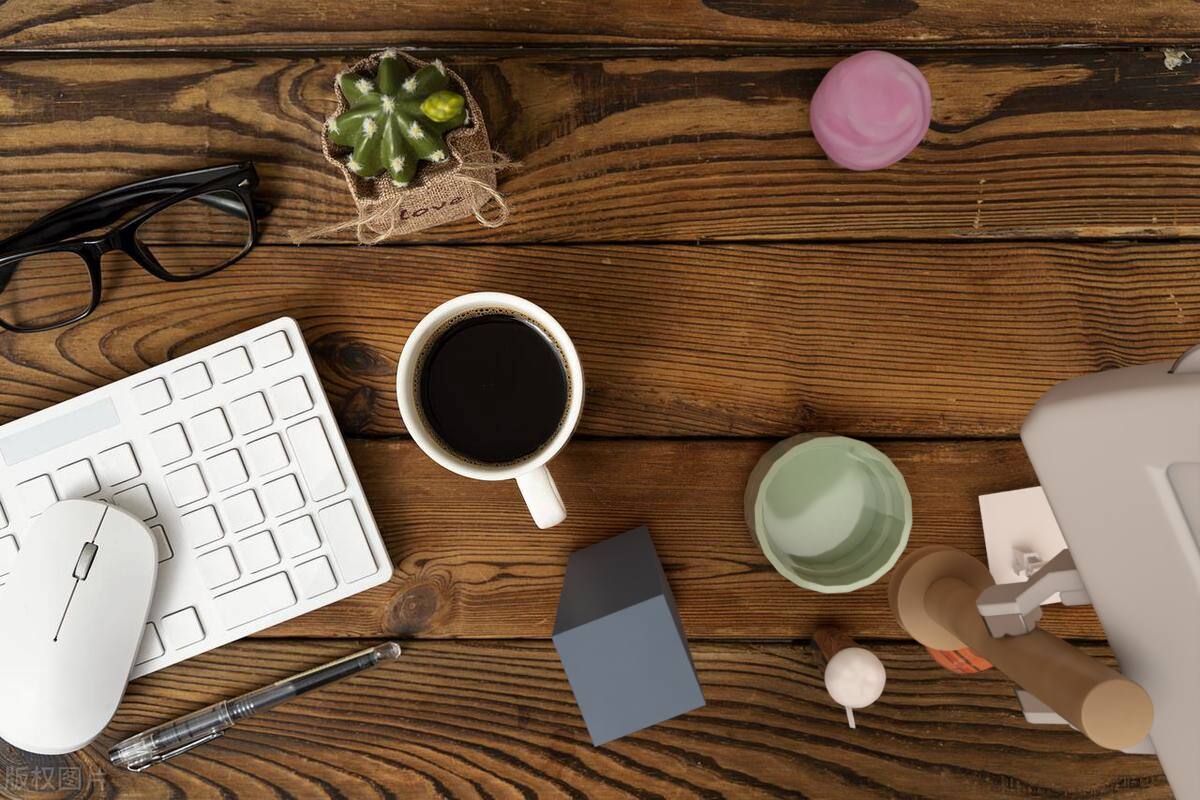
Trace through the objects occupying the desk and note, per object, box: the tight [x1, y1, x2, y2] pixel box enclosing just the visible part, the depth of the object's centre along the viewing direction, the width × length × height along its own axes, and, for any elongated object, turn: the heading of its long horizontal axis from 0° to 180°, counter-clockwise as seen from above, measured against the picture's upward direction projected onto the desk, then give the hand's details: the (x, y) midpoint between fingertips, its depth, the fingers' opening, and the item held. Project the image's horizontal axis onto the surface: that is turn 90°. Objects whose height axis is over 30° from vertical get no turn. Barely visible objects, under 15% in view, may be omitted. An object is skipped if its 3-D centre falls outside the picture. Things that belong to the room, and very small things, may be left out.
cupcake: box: [809, 49, 932, 172], centre depth 67 cm, size 9×9×10 cm
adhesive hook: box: [1012, 548, 1049, 579], centre depth 71 cm, size 3×3×3 cm
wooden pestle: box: [887, 544, 1154, 751], centre depth 36 cm, size 5×5×16 cm
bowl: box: [743, 431, 913, 594], centre depth 69 cm, size 12×12×6 cm
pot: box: [924, 584, 997, 675], centre depth 70 cm, size 8×8×7 cm
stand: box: [551, 524, 707, 748], centre depth 61 cm, size 7×7×23 cm
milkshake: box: [808, 625, 887, 729], centre depth 68 cm, size 5×5×10 cm
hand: (1004, 654), depth 35 cm, fingers closed on wooden pestle, 2 cm apart
